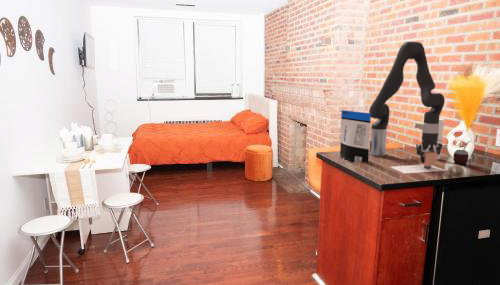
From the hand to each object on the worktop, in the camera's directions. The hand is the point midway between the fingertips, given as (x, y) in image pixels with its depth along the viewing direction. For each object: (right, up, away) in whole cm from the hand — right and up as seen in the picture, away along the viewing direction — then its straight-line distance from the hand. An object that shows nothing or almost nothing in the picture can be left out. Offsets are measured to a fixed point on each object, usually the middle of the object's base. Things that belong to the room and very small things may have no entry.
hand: (427, 162), depth 173 cm
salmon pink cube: (0, -1, 0) cm, 1 cm away
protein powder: (-32, 0, +26) cm, 41 cm away
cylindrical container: (+15, 0, +22) cm, 27 cm away
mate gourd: (+25, -2, +11) cm, 27 cm away
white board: (-6, -5, 0) cm, 7 cm away
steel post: (0, -3, +1) cm, 3 cm away
